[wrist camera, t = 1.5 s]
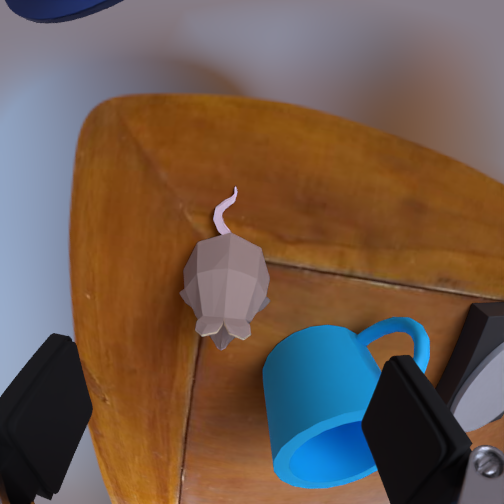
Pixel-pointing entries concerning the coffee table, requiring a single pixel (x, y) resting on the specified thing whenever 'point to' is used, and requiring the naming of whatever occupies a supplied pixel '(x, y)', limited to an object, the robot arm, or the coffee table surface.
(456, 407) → the kitchen scale
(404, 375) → the robot arm
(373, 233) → the coffee table surface
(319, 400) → the mug
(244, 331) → the mouse figurine
